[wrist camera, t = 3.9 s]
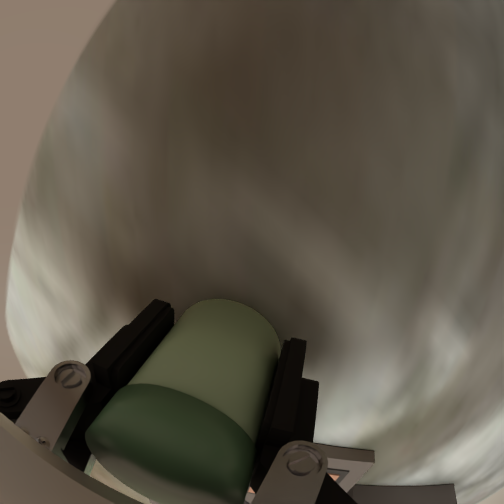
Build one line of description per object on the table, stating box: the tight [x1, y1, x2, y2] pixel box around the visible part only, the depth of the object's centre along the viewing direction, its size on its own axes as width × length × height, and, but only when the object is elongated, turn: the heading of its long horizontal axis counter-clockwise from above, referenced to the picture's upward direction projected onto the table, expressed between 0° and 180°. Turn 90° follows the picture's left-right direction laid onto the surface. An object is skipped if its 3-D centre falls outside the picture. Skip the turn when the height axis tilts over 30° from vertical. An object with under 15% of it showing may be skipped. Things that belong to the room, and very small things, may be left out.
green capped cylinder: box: [85, 299, 281, 504], centre depth 8 cm, size 4×4×6 cm
